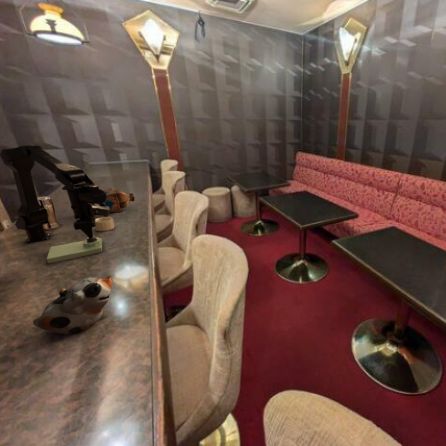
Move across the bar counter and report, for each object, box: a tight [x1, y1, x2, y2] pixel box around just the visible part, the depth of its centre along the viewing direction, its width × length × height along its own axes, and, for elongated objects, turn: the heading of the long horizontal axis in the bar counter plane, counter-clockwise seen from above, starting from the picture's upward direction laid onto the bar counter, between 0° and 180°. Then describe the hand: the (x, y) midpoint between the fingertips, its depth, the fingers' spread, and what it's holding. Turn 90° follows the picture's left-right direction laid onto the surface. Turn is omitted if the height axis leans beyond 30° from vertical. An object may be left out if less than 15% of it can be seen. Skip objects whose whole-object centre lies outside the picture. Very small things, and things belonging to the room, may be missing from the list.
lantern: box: [92, 187, 136, 213], centre depth 145 cm, size 16×16×25 cm
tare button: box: [86, 235, 97, 243], centre depth 102 cm, size 3×3×2 cm
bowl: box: [94, 216, 116, 232], centre depth 121 cm, size 7×7×5 cm
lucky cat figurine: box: [32, 275, 113, 335], centre depth 65 cm, size 15×12×14 cm
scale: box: [46, 237, 103, 264], centre depth 100 cm, size 16×12×4 cm
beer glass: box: [37, 195, 61, 231], centre depth 119 cm, size 7×7×15 cm
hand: (91, 237), depth 102 cm, fingers closed
